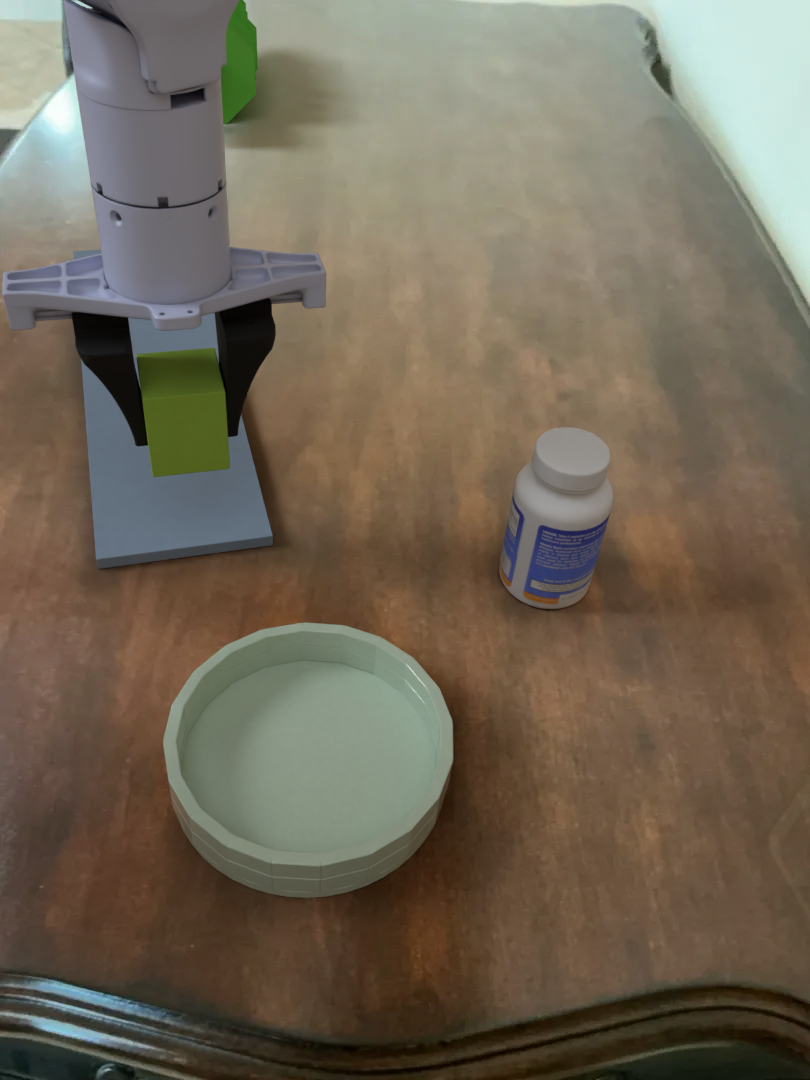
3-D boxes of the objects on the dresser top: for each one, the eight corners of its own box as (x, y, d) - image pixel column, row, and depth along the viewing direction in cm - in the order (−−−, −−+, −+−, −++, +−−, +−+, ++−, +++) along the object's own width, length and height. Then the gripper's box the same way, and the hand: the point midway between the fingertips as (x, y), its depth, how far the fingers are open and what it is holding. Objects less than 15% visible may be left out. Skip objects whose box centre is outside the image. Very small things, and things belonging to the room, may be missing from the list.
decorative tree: (159, 14, 88) (182, -81, 109) (124, 128, 95) (152, 18, 116) (277, 69, 92) (278, -33, 113) (235, 174, 99) (243, 61, 120)
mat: (273, 545, 58) (272, 535, 57) (98, 569, 55) (96, 559, 55) (198, 252, 82) (197, 243, 81) (74, 259, 80) (73, 250, 79)
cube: (152, 477, 50) (142, 399, 47) (146, 431, 53) (135, 353, 50) (230, 469, 51) (225, 391, 48) (220, 423, 54) (214, 346, 51)
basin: (116, 836, 44) (106, 801, 41) (246, 630, 53) (244, 592, 51) (392, 943, 41) (397, 910, 39) (479, 706, 50) (486, 670, 48)
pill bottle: (606, 580, 58) (647, 452, 51) (552, 627, 55) (587, 498, 48) (534, 533, 60) (563, 405, 53) (478, 576, 57) (502, 446, 50)
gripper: (-24, 231, 37) (40, 495, 47) (343, 212, 41) (335, 462, 50) (-18, 155, 42) (39, 409, 52) (310, 144, 46) (308, 383, 55)
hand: (184, 430), depth 51 cm, fingers closed on cube, 4 cm apart
